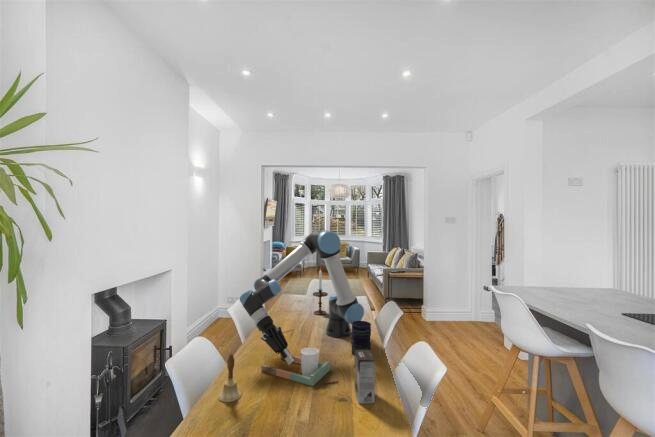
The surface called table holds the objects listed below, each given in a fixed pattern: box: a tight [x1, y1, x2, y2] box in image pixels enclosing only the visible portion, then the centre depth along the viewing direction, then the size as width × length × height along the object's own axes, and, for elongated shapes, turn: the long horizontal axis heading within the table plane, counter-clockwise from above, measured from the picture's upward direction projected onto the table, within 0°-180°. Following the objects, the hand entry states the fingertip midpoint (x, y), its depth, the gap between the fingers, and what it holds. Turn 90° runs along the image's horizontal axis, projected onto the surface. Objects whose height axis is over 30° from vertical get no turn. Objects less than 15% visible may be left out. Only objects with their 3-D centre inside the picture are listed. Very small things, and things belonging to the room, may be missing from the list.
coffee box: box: [354, 350, 376, 405], centre depth 119 cm, size 9×6×16 cm
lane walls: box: [261, 353, 296, 376], centre depth 143 cm, size 8×15×2 cm, turn 153°
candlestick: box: [312, 264, 329, 316], centre depth 226 cm, size 11×11×35 cm
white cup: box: [300, 347, 320, 377], centre depth 136 cm, size 8×8×10 cm
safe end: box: [289, 360, 331, 387], centre depth 135 cm, size 11×15×4 cm
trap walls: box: [275, 355, 301, 380], centre depth 139 cm, size 7×15×2 cm, turn 153°
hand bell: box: [218, 353, 242, 403], centre depth 118 cm, size 8×8×16 cm
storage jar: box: [351, 320, 372, 357], centre depth 158 cm, size 10×10×15 cm
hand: (291, 362), depth 140 cm, fingers closed
